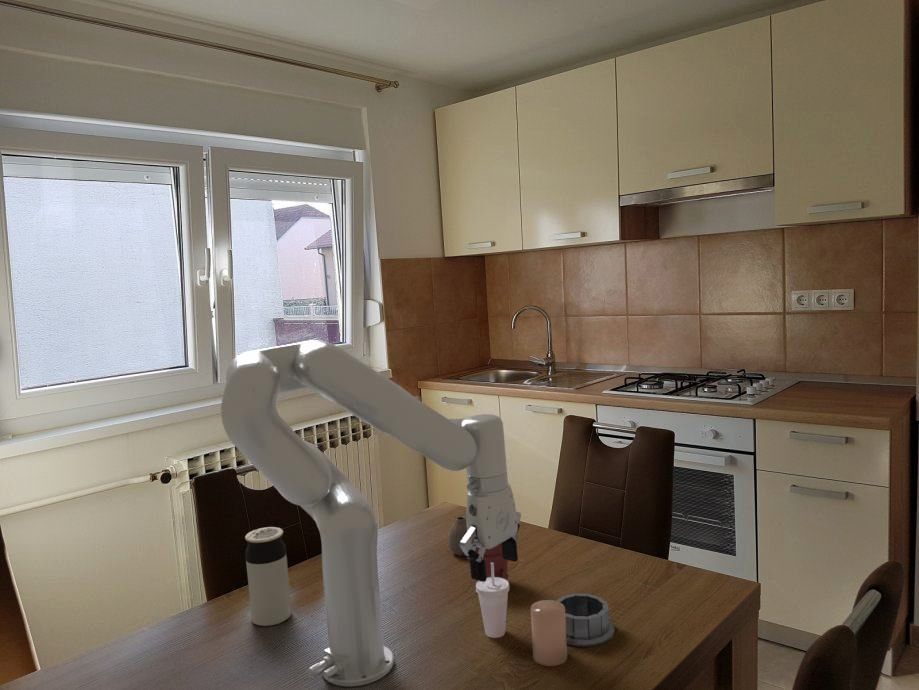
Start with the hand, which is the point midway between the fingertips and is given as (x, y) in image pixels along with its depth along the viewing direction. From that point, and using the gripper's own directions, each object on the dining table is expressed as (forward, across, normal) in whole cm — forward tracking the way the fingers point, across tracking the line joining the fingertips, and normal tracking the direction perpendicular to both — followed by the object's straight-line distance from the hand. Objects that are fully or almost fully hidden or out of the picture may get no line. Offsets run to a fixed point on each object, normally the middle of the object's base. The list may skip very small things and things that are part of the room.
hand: (495, 569), depth 132 cm
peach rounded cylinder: (+12, -2, -12) cm, 18 cm away
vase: (+13, +25, +30) cm, 42 cm away
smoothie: (+12, -1, 0) cm, 13 cm away
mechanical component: (+13, +15, +14) cm, 24 cm away
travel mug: (+11, -22, +42) cm, 49 cm away
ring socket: (+13, +9, -12) cm, 20 cm away
